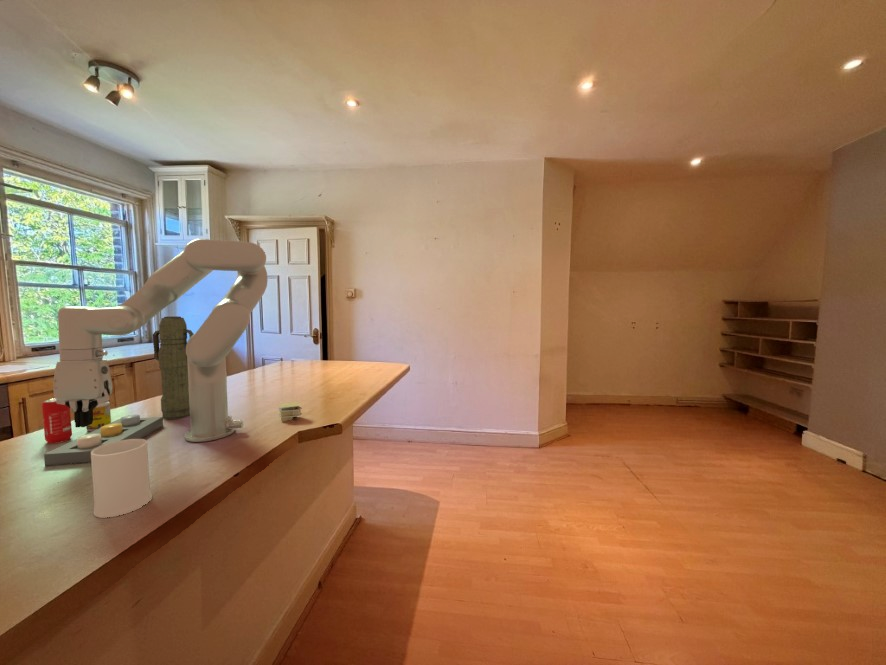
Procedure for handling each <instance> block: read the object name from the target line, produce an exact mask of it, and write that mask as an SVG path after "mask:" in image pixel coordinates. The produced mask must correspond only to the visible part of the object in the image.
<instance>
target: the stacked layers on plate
mask: <svg viewBox="0 0 886 665" xmlns="http://www.w3.org/2000/svg"><path fill="white" fill-rule="evenodd" d="M278 406H279V407H278V411H279V413H278V417H279V418H281V419H280V422H281V421H283V422H286V421H285V420H290V421H293V420H294V417H297V418H298V417H299V416H302V415H303V413H302V409H303V407H301V406H302V403H300V402H298V401H291V402H285V403H279V404H278ZM292 419H293V420H292Z"/></svg>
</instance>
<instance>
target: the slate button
mask: <svg viewBox="0 0 886 665" xmlns="http://www.w3.org/2000/svg"><path fill="white" fill-rule="evenodd" d="M140 418H141V416H140V414H128V415H125V416H121V417H120V418H119V419H120V421H121V424H122V426H136V425H138V424H139V423H140Z"/></svg>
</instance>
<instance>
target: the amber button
mask: <svg viewBox="0 0 886 665" xmlns="http://www.w3.org/2000/svg"><path fill="white" fill-rule="evenodd" d="M100 430H101V437H104V436H117V435H119V434H121V433H122V424H121V423H115V424H109V425H105V426H102V427H101V428H100Z"/></svg>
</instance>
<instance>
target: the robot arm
mask: <svg viewBox="0 0 886 665" xmlns="http://www.w3.org/2000/svg"><path fill="white" fill-rule="evenodd" d="M266 262H267V255H266V252H265V251H264V249H263V248H262V247H261V246H260V245H258V244H256V243H254V242H250V241H238V240H236V241H235V240H226V239H225V240H224V239H223V240H221V239H209V238H196V239H193V240H191V241H190V242H188V243H186V245H185V247H184V249H183V250H182V251H181V252H179V253H178V254H177V255H175V257H173V258H172V259H170V260H169V261H168V262H166V263H165V264H164V265H162V266H161V267H159V268H158V269H156V270H155V271H154V272H152V273H151V275H149V277H148V279H147V280H146V282H145V283H144V284H143V286H142V287H140V289H139V290H137V291H136V292H135V293H134V294H132V295H131V296H129V297H128V298H126V299H125V300H124V301H123V302H122V303H121V304H119V305H118V306H113V307H101V308H100V307H95V306H77V305H76V306H73V305H71V306H63V307H60V308H59V310H58V312H57V322H58V324H57V325H58V326H57V327H58V344H59V347H58V348H59V349H58V350H59V360H58V361H57V362H56V364H55V368H54V376H53V384H52V386H53V390H52V391H53V397H54V398H56V403H57V404H62V405H66V406H68V407H69V408H70V412H72V413H74V415H73V417H74V424H75V425H74V426H75V428H85V427H86V426H88V425H90V424H92V423H93V409H95V408H96V406H97V405H98V404H101V403H105V402H109V401H110V400H111V399H110V395H112V394H113V380H112V375H111V369H110V365H109V363H108V362H109V361H108V360H107V359H106V358H104V357H106V356H108V354H109V353H108V351H107V350H104V348H103V337H102V336H103V335H105V336H114V337H115V336H116V337H117V336H118V337H119V336H127V335H129V334H132V333H134V332H136V331H138V330H139V329H140V328H142V327H144V325H145V324H147V323H148V322H149V321H150V320H151V319H153V318H154V317H155V316H156V315H158V314H159V313H160V312H162V311H163V310H164V309H165V308H166V307H168V306H170V305H171V304H172V303H174V302H175V301H177V300H178V299H180V298H181V297H182V296H184V294H186V293H187V292H188V291H189V290H191V289H192V288H193V287H194V286H195V285H197V284H198V283H200V282H201V281H202V280H203V279H204V278H206V277H207V276H208V275H209V274H211V273H212V272H214V271H226V272H227V271H228V272H237V276H236V280H235V282H234V283H233V284H232V286H230V288H229V290H228V291H227V293H226V294H225V295H224V296H223V298H222V299H221V300H220V301H219V302H218V303H217V304H216V305H215V306H214V307H213V308H212V310H211V312H210V313H209V315H208V316H207V318H206V319H205V320H204V322H203V323H202V324H201V326H200V327H199V328H198V329H197V331H196V332H195V333H193V334H194V335H192V336H191V337H189V338H188V339H187V345H186V355H187V362H188V382H189V405H190V416H189V422H190V424H189V425H190V430H188V431H186V432H185V434H184V440H185V441H187V442H190V443H191V442H193V443H199V442H200V443H201V442H210V441H215V440H218V439H223V438H225V437H228V436H229V435H231V434H233V433H234V432H235V429H241V428H243V427H244V422H243V420H242V419H236V420H234V419H232V418H233V416H232V415H229V408H228V407H229V405H228V403H229V402H228V381H227V380H228V378H227V377H228V376H227V374H228V373H227V358H226V357H227V356H228V355H229V353H230V352H231V350H232V349H233V347H235V345H236V343H237V342H238V341H239V339H240V338H241V336H242V335H243V334H244V333H245V331H246V330H247V328H248V327H249V323H250V320H251V317H250V316H251V313H253V311H254V309H255V308H256V307H257V305H258V303H259V302H260V300H261V299H262V296H263V295H264V294H265V292H266V290H267V287H268V280H269V279H268V273H267V271H268V270H267V268H266V267H265V265H266Z"/></svg>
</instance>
